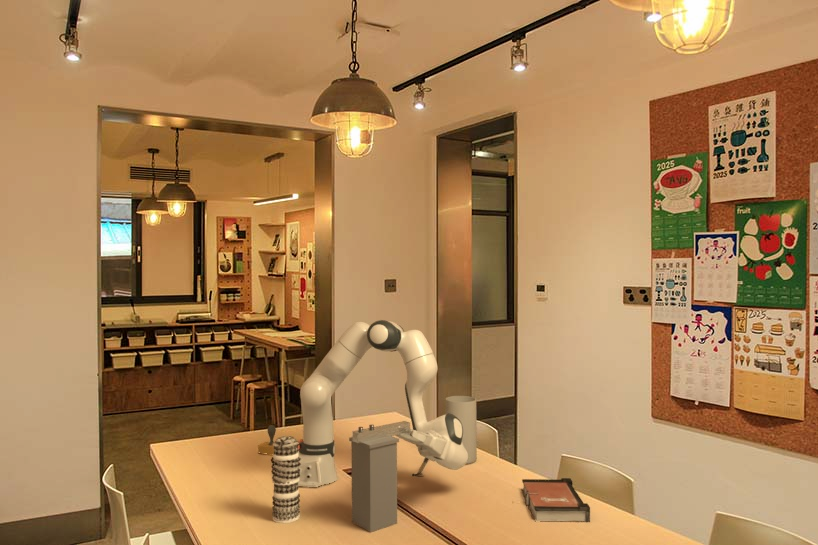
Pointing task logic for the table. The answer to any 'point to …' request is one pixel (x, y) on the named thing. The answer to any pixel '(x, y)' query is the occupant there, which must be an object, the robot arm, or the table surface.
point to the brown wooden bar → (380, 431)
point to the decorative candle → (285, 480)
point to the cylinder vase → (465, 422)
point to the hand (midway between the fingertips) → (402, 429)
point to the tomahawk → (421, 468)
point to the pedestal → (374, 483)
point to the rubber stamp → (268, 446)
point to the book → (555, 501)
